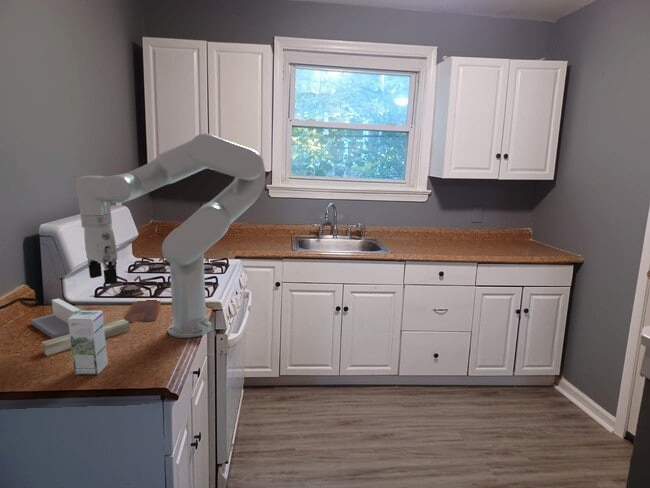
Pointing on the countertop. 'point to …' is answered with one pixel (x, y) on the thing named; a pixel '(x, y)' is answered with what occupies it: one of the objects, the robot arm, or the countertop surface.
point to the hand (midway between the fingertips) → (103, 280)
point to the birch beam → (65, 343)
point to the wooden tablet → (143, 311)
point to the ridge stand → (56, 319)
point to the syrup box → (87, 342)
